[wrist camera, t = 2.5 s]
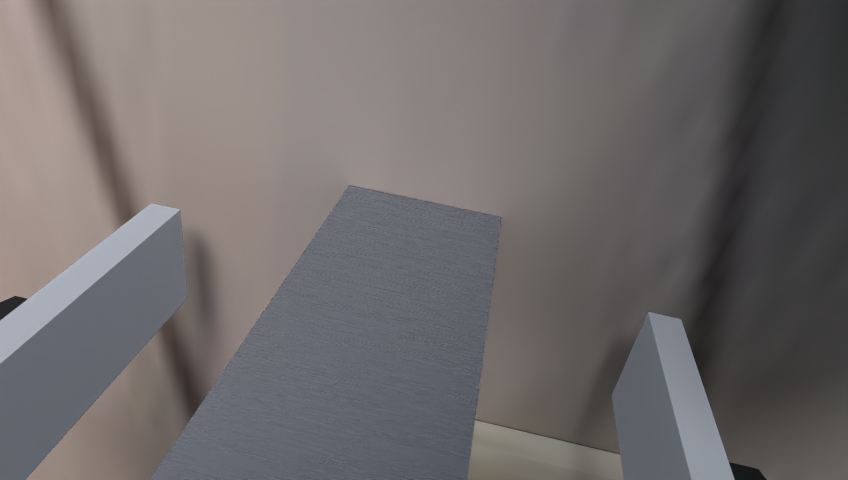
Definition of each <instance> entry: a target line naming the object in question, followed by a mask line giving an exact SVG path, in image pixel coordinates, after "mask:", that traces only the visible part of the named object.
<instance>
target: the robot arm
mask: <svg viewBox="0 0 848 480" xmlns="http://www.w3.org/2000/svg"><path fill="white" fill-rule="evenodd" d="M187 298H188V297H187V285H186V273H185V261H184V249H183V237H182V225H181V213H180V209H175V208H170V207H166V206H161V205H157V204H152V203H151V204H150V205H148V206H147V207H146V208H145V209H143V210H142V211H141V212H139V213H138V214H137V215H136V216H134V217H133V218H132V219H130V220H129V221H128V222H127V223H125V224H124V225H123V226H121V227H120V228H119V229H118V230H116V231H115V232H114V233H112V234H111V235H110V236H109V237H107V238H106V239H105V240H103V241H102V242H101V243H99V244H98V245H97V246H96V247H94V248H93V249H92V250H90V251H89V252H88V253H87V254H85V255H84V256H83V257H81V258H80V259H79V260H78V261H76V262H75V263H74V264H72V265H71V266H70V267H69V268H67V269H66V270H65V271H63V272H62V273H61V274H60V275H58V276H57V277H56V278H54V279H53V280H52V281H50V282H49V283H48V284H47V285H45V286H44V287H43V288H41V289H40V290H39V291H38V292H36V293H35V294H34V295H32V296H31V297H30V298H29V299H26V298H22V297H17V296H14V297H12V298H10V299H7V300H5V301H3V302H0V480H25V479H26V478H27V477H28V476H29V475H30V474H31V473H32V472H33V470H34V469H35V468H36V467H37V466H38V465H39V464H40V463H41V462H42V460H43V459H44V458H45V457H46V456H47V455H48V454H49V453H50V451H51V450H52V449H53V448H54V447H55V446H56V445H57V444H58V442H59V441H60V440H61V439H62V438H63V437H64V436H65V435H66V433H67V432H68V431H69V430H70V429H71V428H72V427H73V426H74V424H75V423H76V422H77V421H78V420H79V419H80V418H81V417H82V416H83V414H84V413H85V412H86V411H87V410H88V409H89V408H90V407H91V405H92V404H93V403H94V402H95V401H96V400H97V399H98V398H99V396H100V395H101V394H102V393H103V392H104V391H105V390H106V389H107V387H108V386H109V385H110V384H111V383H112V382H113V381H114V380H115V378H116V377H117V376H118V375H119V374H120V373H121V372H122V371H123V369H124V368H125V367H126V366H127V365H128V364H129V363H130V362H131V361H132V359H133V358H134V357H135V356H136V355H137V354H138V353H139V352H140V350H141V349H142V348H143V347H144V346H145V345H146V344H147V343H148V341H149V340H150V339H151V338H152V337H153V336H154V335H155V334H156V332H157V331H158V330H159V329H160V328H161V327H162V326H163V325H164V323H165V322H166V321H167V320H168V319H169V318H170V317H171V316H172V315H173V313H174V312H175V311H176V310H177V309H178V308H179V307H180V306H181V304H182V303H183V302H184V301H185V300H186V299H187ZM612 401H613V408H614V415H615V422H616V429H617V436H618V444H619V451H620V458H621V465H622V472H623V479H624V480H766V478H765V477H764V476H763V475H762V473H761V472H760V471H759V470H758V469H756V468H751V467H747V466H743V465H739V464H734V463H730V462H729V461H728V459H727V456H726V453H725V450H724V447H723V444H722V441H721V438H720V435H719V432H718V429H717V426H716V423H715V420H714V417H713V414H712V411H711V408H710V405H709V402H708V399H707V396H706V393H705V390H704V387H703V384H702V381H701V378H700V375H699V372H698V369H697V366H696V363H695V360H694V357H693V354H692V351H691V348H690V345H689V342H688V339H687V336H686V333H685V330H684V327H683V324H682V321H681V319H678V318H674V317H669V316H665V315H660V314H655V313H651V312H648V313H647V315H646V318H645V320H644V322H643V324H642V327H641V329H640V331H639V334H638V336H637V338H636V340H635V343H634V345H633V347H632V350H631V352H630V354H629V357H628V359H627V361H626V363H625V366H624V368H623V370H622V373H621V375H620V377H619V379H618V382H617V384H616V386H615V389H614V391H613V393H612Z"/></svg>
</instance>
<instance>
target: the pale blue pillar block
mask: <svg viewBox="0 0 848 480" xmlns="http://www.w3.org/2000/svg"><path fill="white" fill-rule="evenodd" d="M500 223H501V217H497V216H492V215H487V214H482V213H478V212H473V211H468V210H464V209H459V208H454V207H449V206H445V205H440V204H435V203H430V202H426V201H421V200H416V199H411V198H407V197H402V196H397V195H393V194H388V193H383V192H378V191H374V190H369V189H364V188H359V187H355V186H350V185H349V186H348V188H347V189H346V191H345V192H344V193H343V195H342V196H341V198H340V199H339V201H338V202H337V204H336V205H335V207H334V208H333V210H332V211H331V213H330V214H329V216H328V217H327V219H326V220H325V222H324V223H323V224H322V226H321V227H320V229H319V230H318V232H317V233H316V235H315V236H314V238H313V239H312V241H311V242H310V244H309V245H308V247H307V248H306V250H305V251H304V253H303V254H302V255H301V257H300V258H299V260H298V261H297V263H296V264H295V266H294V267H293V269H292V270H291V272H290V273H289V275H288V276H287V278H286V279H285V281H284V282H283V284H282V285H281V287H280V288H279V289H278V291H277V292H276V294H275V295H274V297H273V298H272V300H271V301H270V303H269V304H268V306H267V307H266V309H265V310H264V312H263V313H262V315H261V316H260V318H259V319H258V320H257V322H256V323H255V325H254V326H253V328H252V329H251V331H250V332H249V334H248V335H247V337H246V338H245V340H244V341H243V343H242V344H241V346H240V347H239V349H238V350H237V351H236V353H235V354H234V356H233V357H232V359H231V360H230V362H229V363H228V365H227V366H226V368H225V369H224V371H223V372H222V374H221V375H220V377H219V378H218V380H217V381H216V383H215V384H214V385H213V387H212V388H211V390H210V391H209V393H208V394H207V396H206V397H205V399H204V400H203V402H202V403H201V405H200V406H199V408H198V409H197V411H196V412H195V414H194V415H193V416H192V418H191V419H190V421H189V422H188V424H187V425H186V427H185V428H184V430H183V431H182V433H181V434H180V436H179V437H178V439H177V440H176V442H175V443H174V445H173V446H172V447H171V449H170V450H169V452H168V453H167V455H166V456H165V458H164V459H163V461H162V462H161V464H160V465H159V467H158V468H157V470H156V471H155V473H154V474H153V476H152V477H151V479H150V480H467V478H468V470H469V462H470V455H471V447H472V439H473V431H474V424H475V416H476V408H477V401H478V393H479V385H480V377H481V370H482V362H483V354H484V347H485V339H486V331H487V324H488V316H489V308H490V300H491V293H492V285H493V277H494V270H495V262H496V254H497V246H498V239H499V231H500Z"/></svg>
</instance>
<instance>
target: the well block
mask: <svg viewBox="0 0 848 480" xmlns="http://www.w3.org/2000/svg"><path fill="white" fill-rule="evenodd" d="M467 480H624V479H623V472H622V465H621V458H620V455H619V454H615V453H611V452H607V451H603V450H598V449H594V448H590V447H586V446H581V445H577V444H573V443H569V442H565V441H560V440H556V439H552V438H548V437H544V436H539V435H535V434H531V433H527V432H523V431H518V430H514V429H510V428H506V427H501V426H497V425H493V424H489V423H485V422H480V421H476V420H475V424H474V431H473V439H472V447H471V455H470V462H469V470H468V478H467Z"/></svg>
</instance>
